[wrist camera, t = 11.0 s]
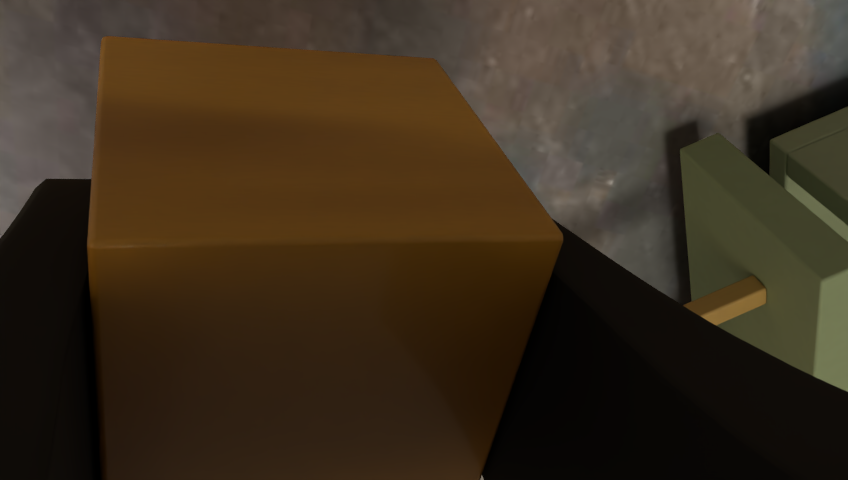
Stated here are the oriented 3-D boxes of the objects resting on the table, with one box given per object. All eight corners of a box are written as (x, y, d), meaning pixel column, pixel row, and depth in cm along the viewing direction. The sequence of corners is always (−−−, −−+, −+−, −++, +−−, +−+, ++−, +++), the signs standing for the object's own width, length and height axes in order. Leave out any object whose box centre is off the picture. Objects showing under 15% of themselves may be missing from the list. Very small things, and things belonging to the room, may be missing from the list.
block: (386, 297, 12) (470, 513, 9) (112, 308, 11) (104, 564, 8) (436, 56, 10) (568, 235, 7) (101, 33, 9) (86, 242, 6)
